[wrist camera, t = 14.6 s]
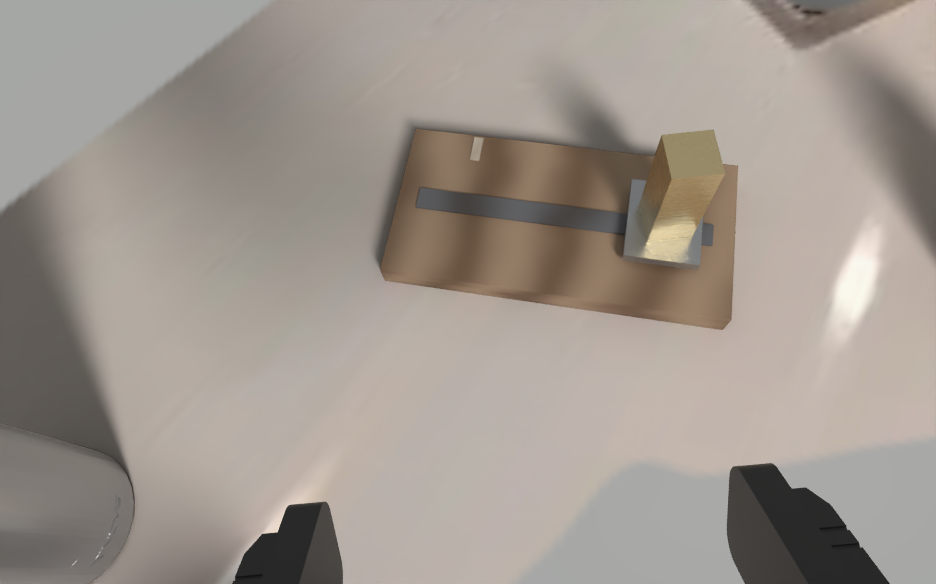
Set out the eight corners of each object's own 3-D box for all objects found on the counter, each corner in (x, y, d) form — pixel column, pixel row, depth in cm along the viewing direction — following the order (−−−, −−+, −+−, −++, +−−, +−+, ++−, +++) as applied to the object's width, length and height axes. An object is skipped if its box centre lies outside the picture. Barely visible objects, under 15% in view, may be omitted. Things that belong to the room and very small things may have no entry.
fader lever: (621, 260, 46) (644, 193, 38) (630, 184, 48) (652, 106, 40) (696, 270, 45) (735, 204, 37) (702, 193, 48) (739, 116, 40)
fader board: (385, 280, 50) (379, 268, 47) (419, 143, 54) (415, 127, 52) (722, 329, 46) (732, 318, 44) (729, 180, 51) (738, 164, 49)
